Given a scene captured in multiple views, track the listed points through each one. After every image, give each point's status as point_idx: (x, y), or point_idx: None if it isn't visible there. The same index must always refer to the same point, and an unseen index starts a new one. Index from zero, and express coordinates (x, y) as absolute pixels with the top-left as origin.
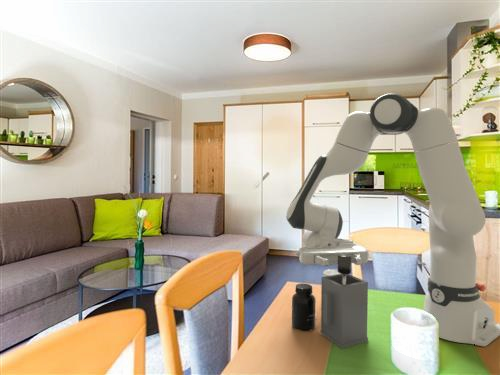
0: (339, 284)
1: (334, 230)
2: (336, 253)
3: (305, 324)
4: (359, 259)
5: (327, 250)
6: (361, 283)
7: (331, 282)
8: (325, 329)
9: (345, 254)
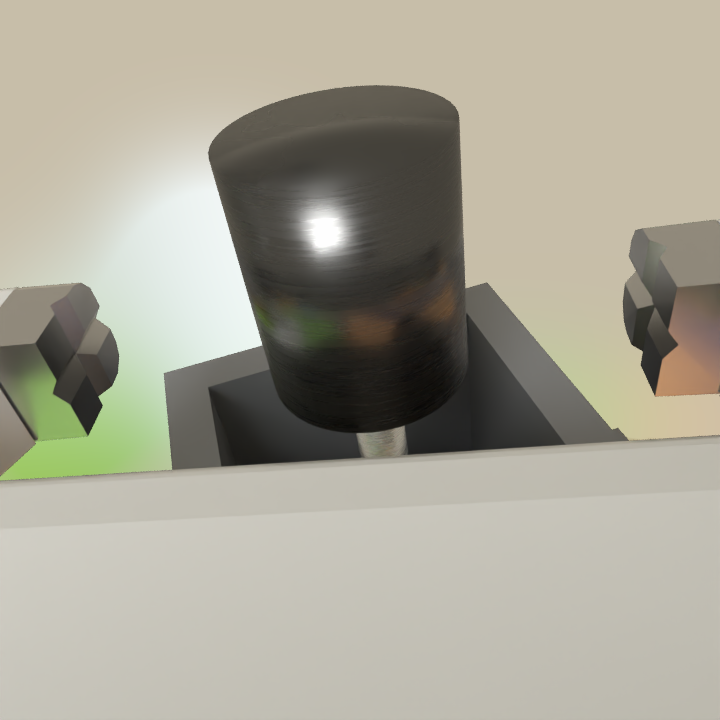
0: (493, 328)
1: None
2: (311, 468)
3: None
4: (29, 289)
5: (616, 684)
6: (250, 350)
7: (570, 386)
8: None
9: (256, 181)
